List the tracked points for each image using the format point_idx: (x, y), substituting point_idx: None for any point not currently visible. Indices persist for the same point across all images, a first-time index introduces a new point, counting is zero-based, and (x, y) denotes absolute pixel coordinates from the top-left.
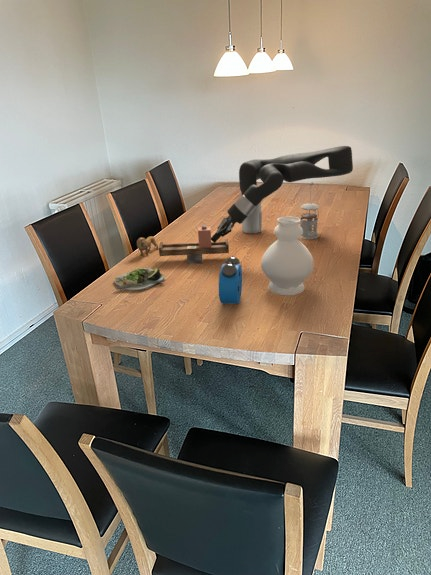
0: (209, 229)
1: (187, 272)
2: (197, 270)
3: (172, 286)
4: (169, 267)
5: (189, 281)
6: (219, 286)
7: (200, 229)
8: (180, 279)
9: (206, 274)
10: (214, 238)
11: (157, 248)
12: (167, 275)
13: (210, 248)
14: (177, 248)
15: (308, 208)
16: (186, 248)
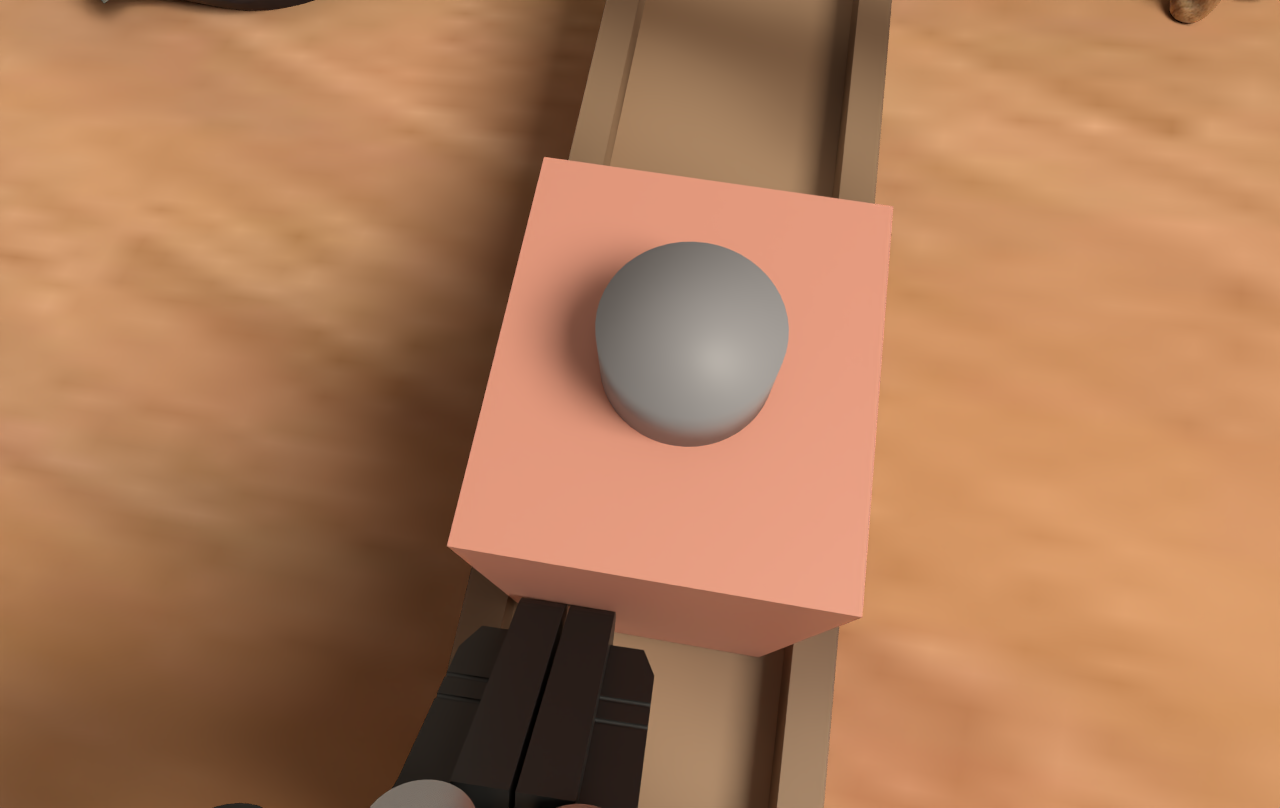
0: (539, 518)
1: (320, 260)
2: (330, 384)
3: (21, 77)
4: (552, 93)
5: (49, 249)
6: None
7: (638, 237)
8: (156, 166)
9: (147, 476)
10: (446, 682)
11: (1185, 4)
12: (330, 57)
13: (470, 582)
14: (753, 79)
15: None
16: (603, 164)
